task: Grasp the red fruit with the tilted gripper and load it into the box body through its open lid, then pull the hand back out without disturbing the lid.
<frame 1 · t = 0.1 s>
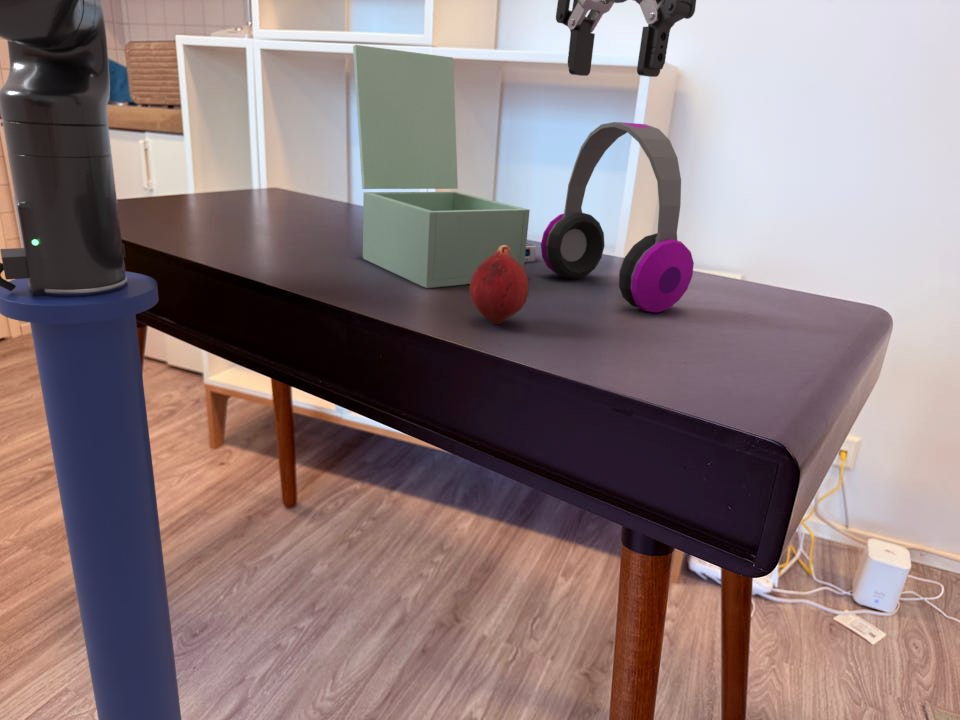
hand: (611, 75, 60), 24 cm above the table, tool pointing down, fingers open, 8 cm apart
lid: (402, 123, 91), point 18 cm above the table, hinge at 100.0°
red fruit: (496, 325, 67), on the table
box body: (441, 268, 89), on the table
multiport hub: (501, 255, 101), on the table
headphones: (606, 294, 83), on the table
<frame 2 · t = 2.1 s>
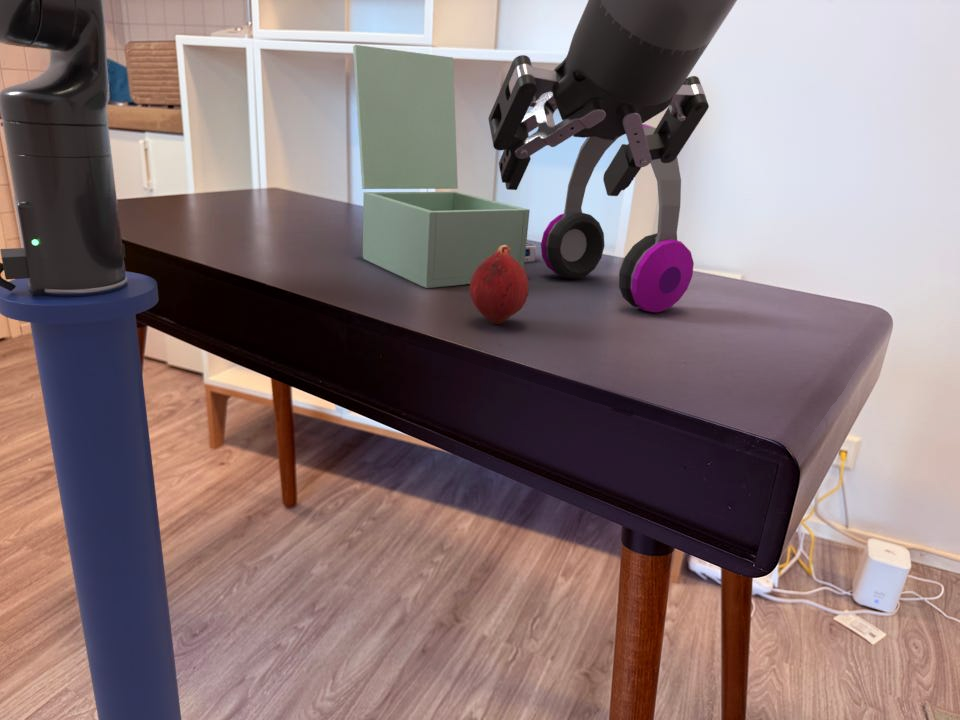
hand: (560, 184, 52), 15 cm above the table, tool tilted 45°, fingers open, 8 cm apart
nothing on the table moved.
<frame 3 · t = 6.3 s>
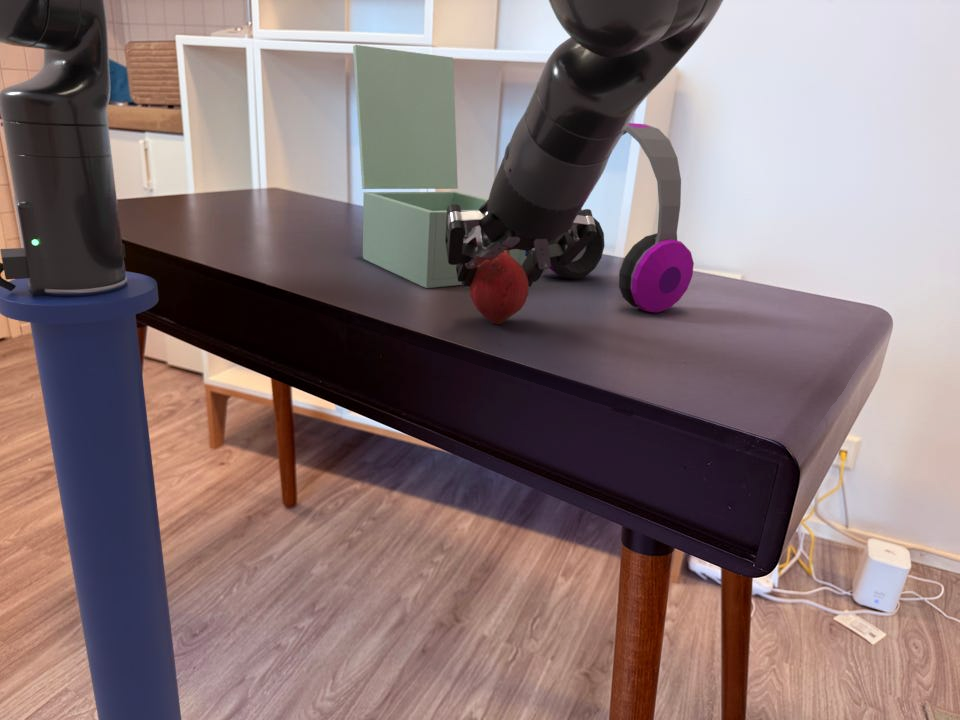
hand: (495, 278, 67), 4 cm above the table, tool tilted 45°, fingers closed on red fruit, 5 cm apart
red fruit: (496, 325, 67), on the table, touching gripper
everything else where it was.
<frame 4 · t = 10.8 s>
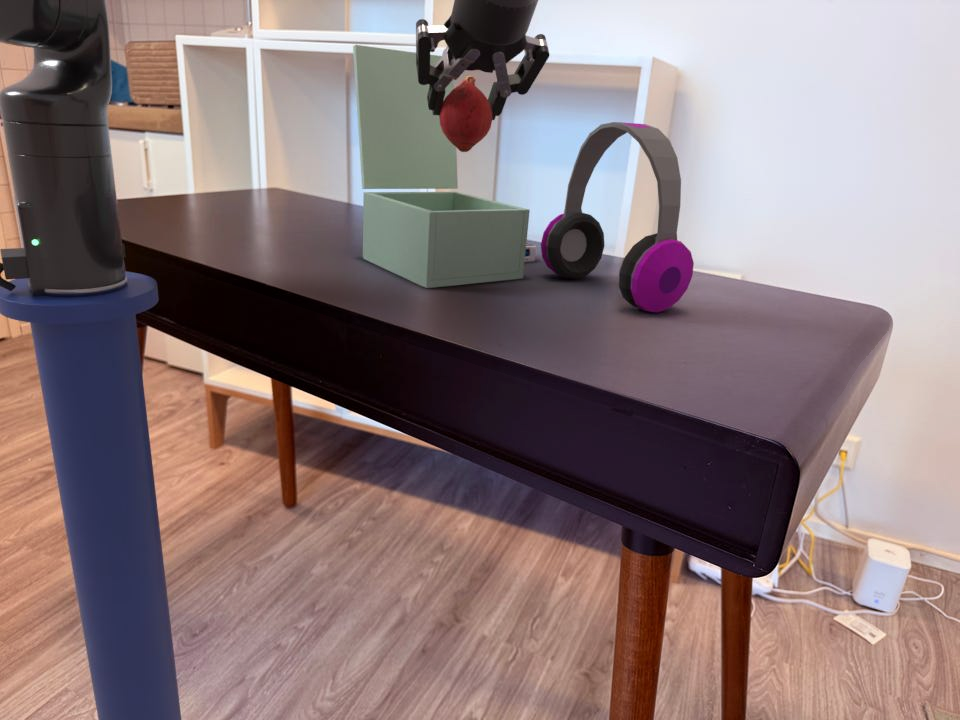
hand: (462, 111, 75), 20 cm above the table, tool tilted 45°, fingers closed on red fruit, 5 cm apart
red fruit: (463, 154, 75), point 15 cm above the table, touching gripper
everything else where it was.
when the fingers open (8 cm above the table, at t = 15.5 s): red fruit drops 3 cm, resting on box body.
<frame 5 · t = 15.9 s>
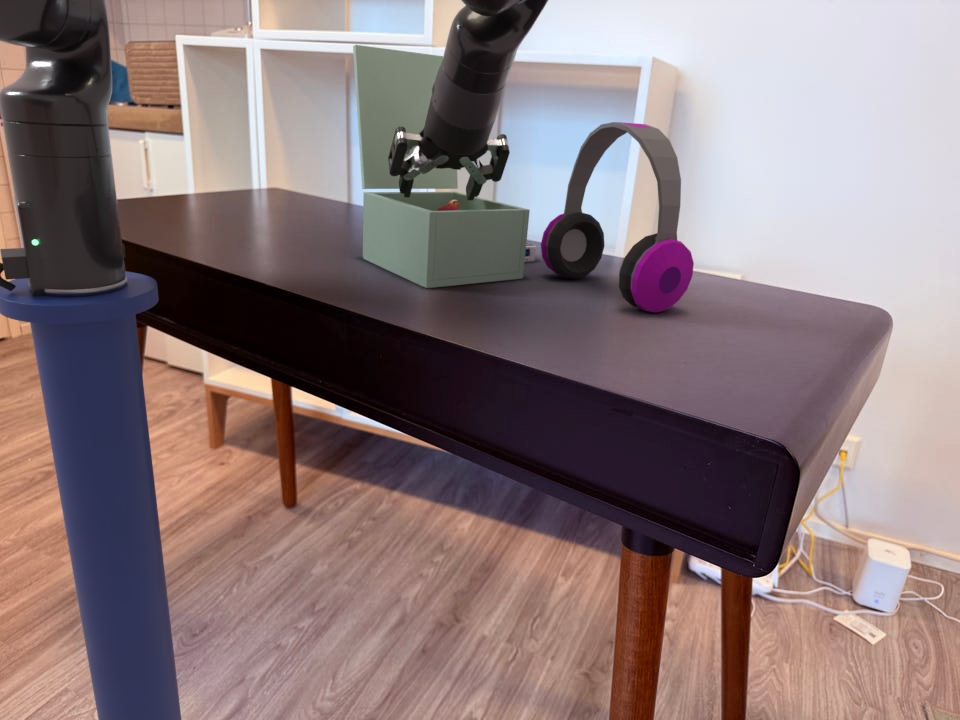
hand: (438, 193, 87), 9 cm above the table, tool tilted 45°, fingers open, 8 cm apart
red fruit: (438, 259, 89), point 1 cm above the table, touching box body
everything else where it was.
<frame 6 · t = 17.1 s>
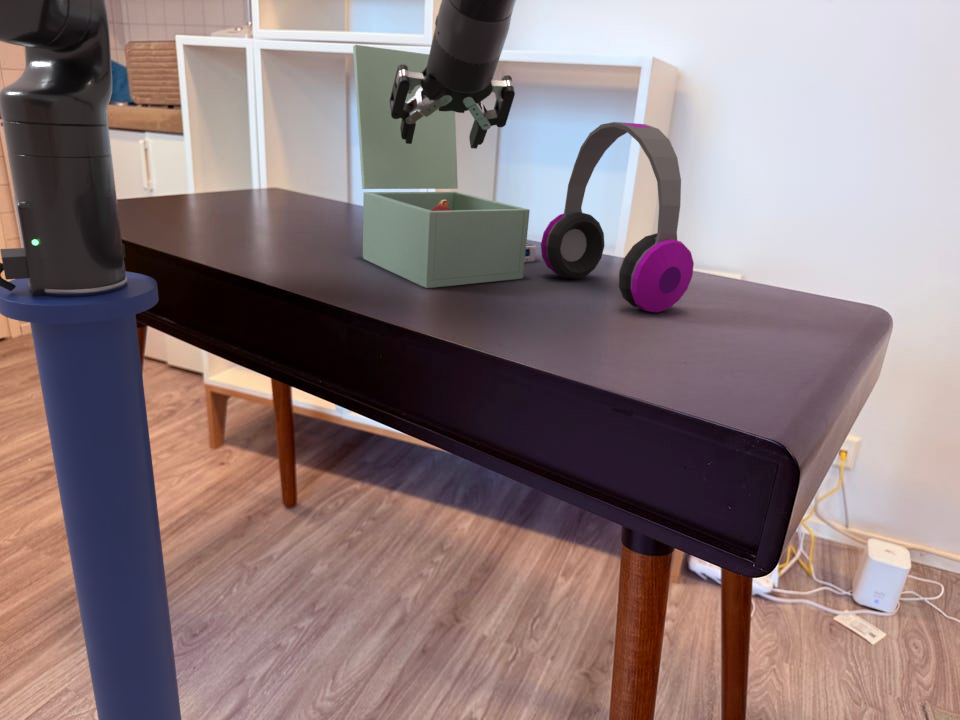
hand: (440, 141, 85), 16 cm above the table, tool tilted 45°, fingers open, 8 cm apart
nothing on the table moved.
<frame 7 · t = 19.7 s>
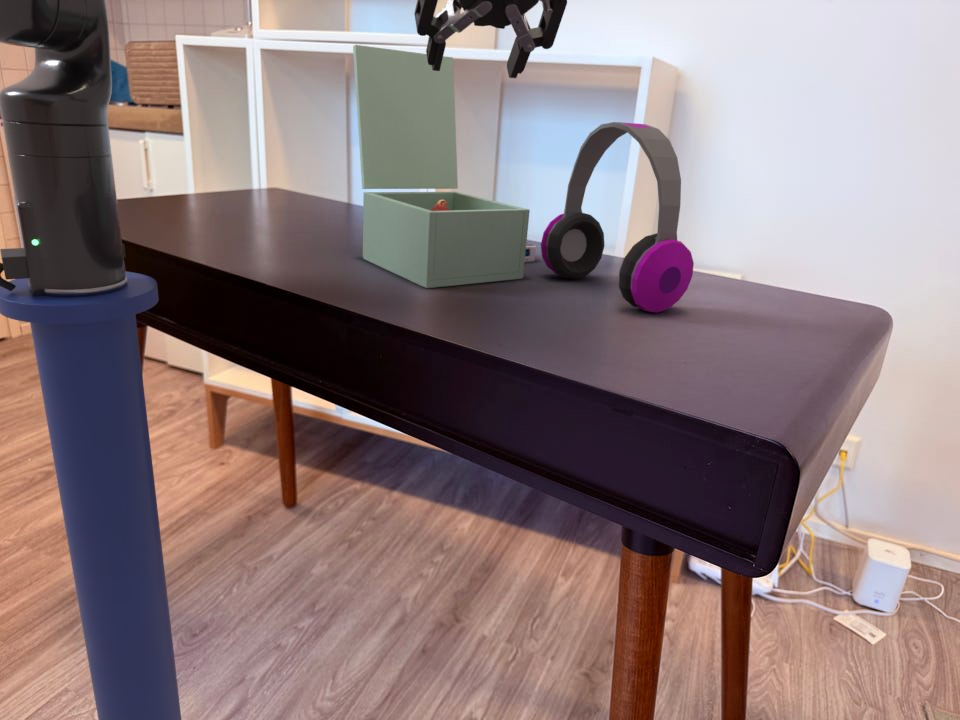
hand: (473, 69, 71), 24 cm above the table, tool tilted 45°, fingers open, 8 cm apart
nothing on the table moved.
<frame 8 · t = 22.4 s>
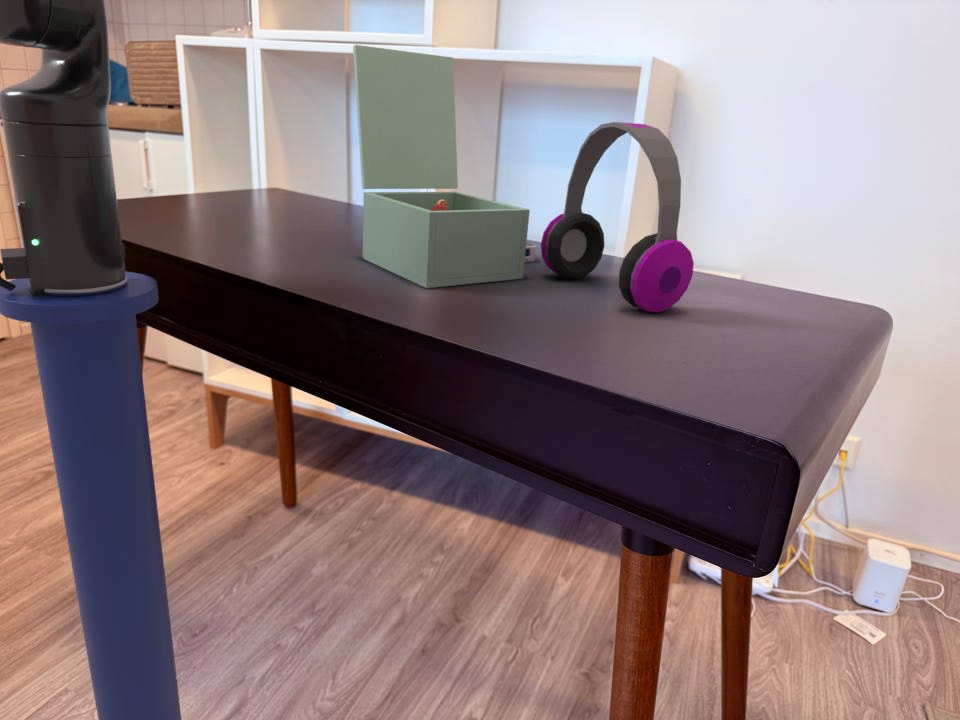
nothing on the table moved.
at the end: red fruit inside the target area in the box body (0.9 cm from its centre), point 0.7 cm above the box body's base; the gripper is holding nothing; lid at +100° (first picture: +100°) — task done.
